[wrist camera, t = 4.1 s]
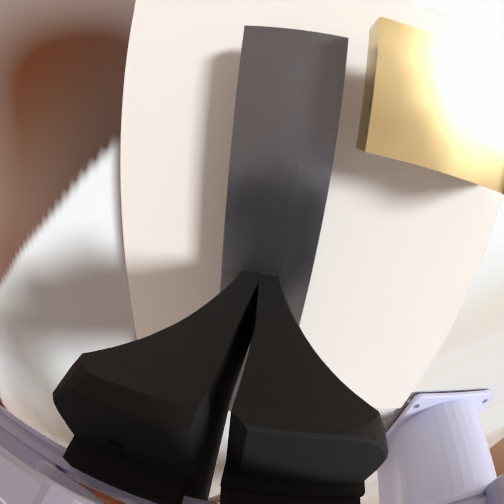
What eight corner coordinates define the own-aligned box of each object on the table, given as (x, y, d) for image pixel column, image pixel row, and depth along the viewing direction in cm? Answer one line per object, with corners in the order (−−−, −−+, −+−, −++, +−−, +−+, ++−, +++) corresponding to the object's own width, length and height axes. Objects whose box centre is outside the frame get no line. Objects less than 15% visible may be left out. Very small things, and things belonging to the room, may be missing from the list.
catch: (491, 184, 9) (554, 218, 5) (344, 142, 9) (372, 156, 6) (504, 101, 7) (571, 107, 4) (356, 45, 8) (388, 5, 4)
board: (396, 390, 16) (406, 440, 13) (152, 353, 18) (126, 399, 14) (500, 58, 7) (552, 51, 4) (154, -5, 9) (107, -34, 5)
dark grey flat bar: (275, 402, 14) (272, 423, 13) (219, 392, 15) (213, 412, 13) (343, 46, 7) (350, 35, 6) (250, 34, 8) (242, 22, 6)
